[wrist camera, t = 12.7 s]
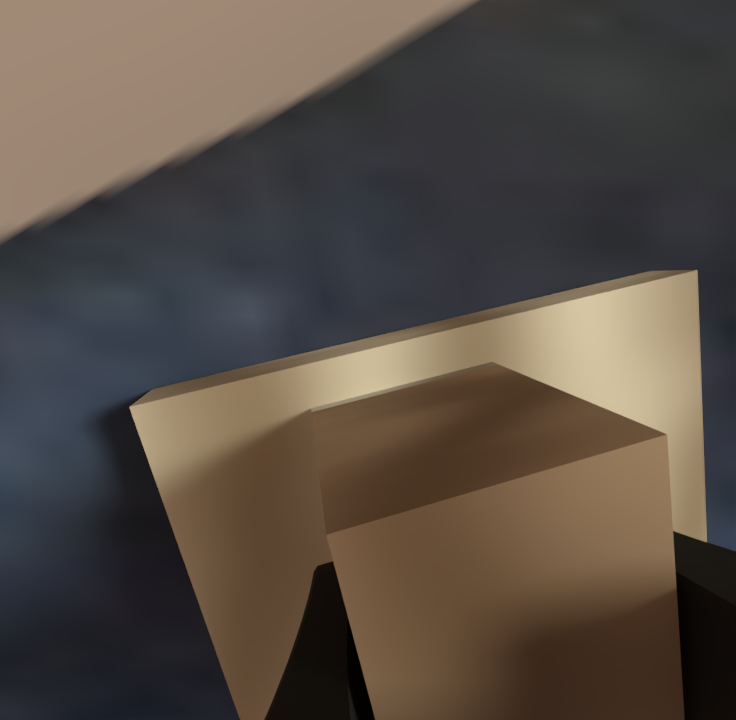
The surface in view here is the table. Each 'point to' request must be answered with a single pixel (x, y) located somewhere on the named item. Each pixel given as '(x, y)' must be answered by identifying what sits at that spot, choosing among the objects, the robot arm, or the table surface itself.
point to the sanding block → (502, 551)
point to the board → (374, 373)
